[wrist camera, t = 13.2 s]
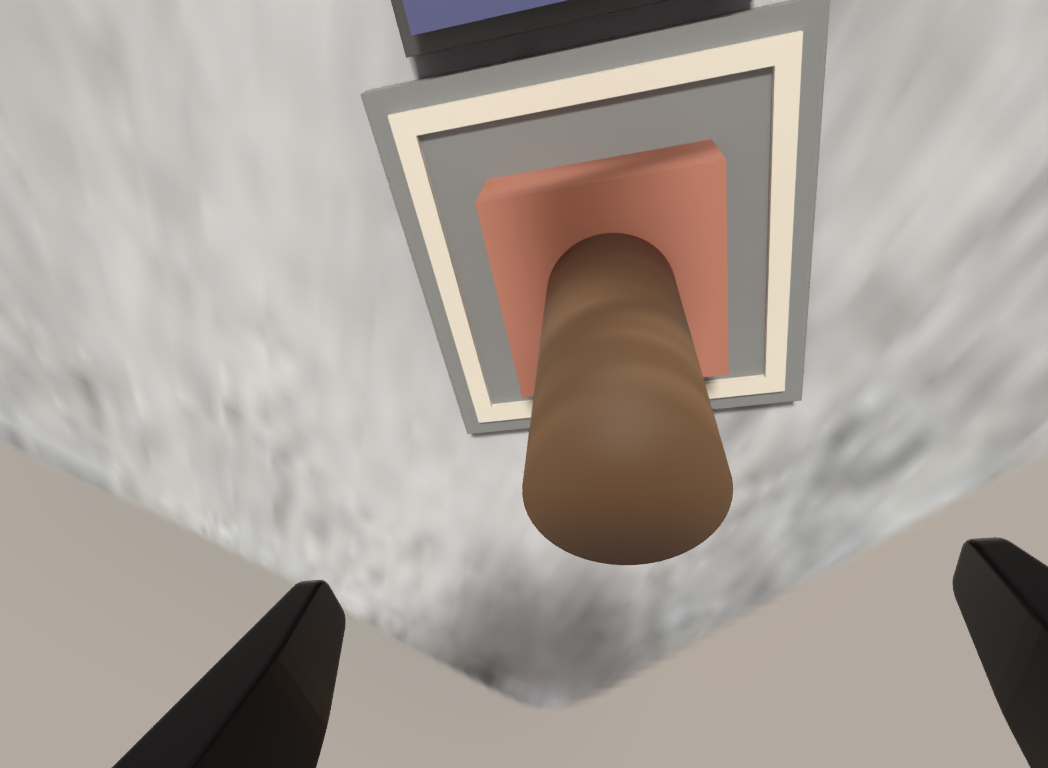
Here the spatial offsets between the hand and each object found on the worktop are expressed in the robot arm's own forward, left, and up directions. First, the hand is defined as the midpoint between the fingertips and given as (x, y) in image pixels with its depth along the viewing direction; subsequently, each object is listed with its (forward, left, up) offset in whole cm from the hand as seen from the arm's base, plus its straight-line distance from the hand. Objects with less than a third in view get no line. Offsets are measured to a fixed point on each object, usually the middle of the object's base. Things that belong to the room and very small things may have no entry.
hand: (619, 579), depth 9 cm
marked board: (0, 0, -12) cm, 12 cm away
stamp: (0, 0, -11) cm, 11 cm away
